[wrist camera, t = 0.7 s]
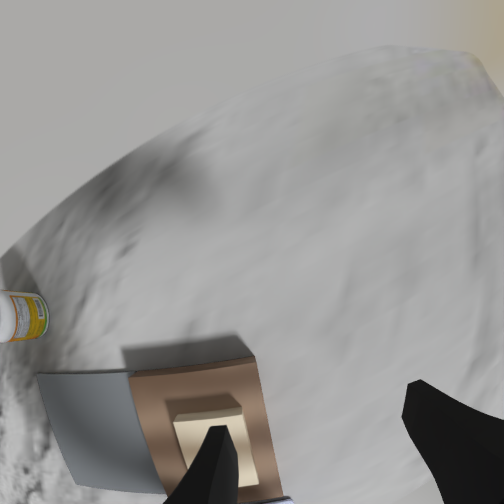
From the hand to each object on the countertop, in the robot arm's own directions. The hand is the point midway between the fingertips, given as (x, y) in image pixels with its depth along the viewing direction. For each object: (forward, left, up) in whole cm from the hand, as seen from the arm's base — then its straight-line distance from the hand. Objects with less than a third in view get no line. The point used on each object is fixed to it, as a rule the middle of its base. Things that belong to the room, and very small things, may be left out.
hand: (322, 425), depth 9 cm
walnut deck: (-8, +8, -18) cm, 21 cm away
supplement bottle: (+7, +27, -18) cm, 33 cm away
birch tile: (-8, +7, -15) cm, 18 cm away
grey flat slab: (-8, +21, -18) cm, 29 cm away
